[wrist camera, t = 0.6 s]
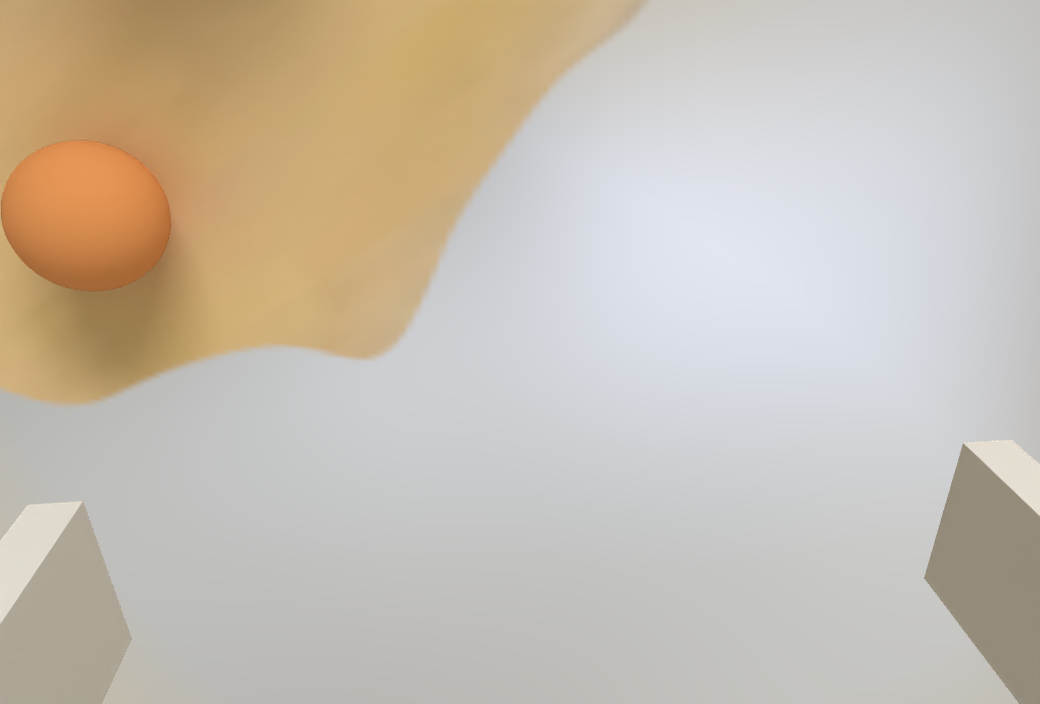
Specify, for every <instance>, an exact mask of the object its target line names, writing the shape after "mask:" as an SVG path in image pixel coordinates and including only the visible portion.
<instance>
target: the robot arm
mask: <svg viewBox="0 0 1040 704" xmlns="http://www.w3.org/2000/svg"><path fill="white" fill-rule="evenodd" d="M924 578H925V579H926V581H927V582H928V584H929V585H930V586H931V588H932V589H933V590H934V592H935V593H936V594H937V596H938V597H939V598H940V600H941V601H942V602H943V603H944V605H945V606H946V607H947V609H948V610H949V611H950V613H951V614H952V615H953V617H954V618H955V619H956V621H957V622H958V623H959V625H960V626H961V627H962V629H963V630H964V631H965V633H966V634H967V635H968V637H969V638H970V639H971V640H972V642H973V643H974V644H975V646H976V647H977V648H978V650H979V651H980V652H981V654H982V655H983V656H984V658H985V659H986V660H987V662H988V663H989V664H990V665H991V667H992V668H993V670H994V671H995V672H996V674H997V675H998V676H999V677H1000V679H1001V680H1002V681H1003V683H1004V684H1005V685H1006V687H1007V688H1008V689H1009V690H1010V692H1011V693H1012V695H1013V696H1014V697H1015V699H1016V700H1017V701H1018V703H1019V704H1040V464H1038V463H1037V462H1036V461H1035V460H1034V459H1033V458H1032V457H1030V456H1029V455H1028V454H1027V453H1026V452H1025V451H1024V450H1022V449H1021V448H1020V447H1019V446H1018V445H1017V444H1015V443H1014V442H1013V441H1012V440H999V441H984V442H969V443H963V445H962V449H961V453H960V456H959V459H958V463H957V466H956V470H955V473H954V477H953V480H952V484H951V487H950V491H949V494H948V497H947V501H946V504H945V508H944V511H943V515H942V518H941V522H940V525H939V529H938V532H937V536H936V539H935V543H934V546H933V550H932V553H931V556H930V560H929V563H928V567H927V570H926V574H925V577H924ZM131 640H132V638H131V635H130V632H129V630H128V627H127V624H126V621H125V618H124V616H123V613H122V610H121V607H120V605H119V601H118V599H117V596H116V593H115V590H114V587H113V585H112V582H111V579H110V576H109V573H108V570H107V568H106V565H105V562H104V559H103V556H102V554H101V551H100V548H99V545H98V542H97V539H96V537H95V534H94V531H93V528H92V525H91V522H90V520H89V517H88V514H87V511H86V508H85V505H84V503H83V501H79V502H63V503H48V504H33V505H27V507H26V508H25V509H24V511H23V512H22V513H21V514H20V516H19V517H18V518H17V520H16V521H15V522H14V524H13V525H12V526H11V527H10V529H9V530H8V531H7V533H6V534H5V535H4V537H3V538H2V539H1V541H0V704H102V702H103V699H104V697H105V695H106V693H107V691H108V689H109V687H110V684H111V682H112V680H113V678H114V676H115V674H116V672H117V670H118V667H119V665H120V663H121V661H122V659H123V657H124V655H125V652H126V650H127V648H128V646H129V644H130V642H131Z"/></svg>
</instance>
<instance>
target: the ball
mask: <svg viewBox="0 0 1040 704" xmlns="http://www.w3.org/2000/svg"><path fill="white" fill-rule="evenodd" d="M1 218H2V225H3V228H4V232H5V234H6V237H7V239H8V241H9V243H10V245H11V246H12V248H13V250H14V251H15V252H16V254H17V255H18V256H19V258H20V259H21V260H22V261H23V262H24V263H25V264H26V265H27V266H28V267H29V268H31V269H32V270H33V271H34V272H36V273H37V274H39V275H40V276H42V277H43V278H45V279H47V280H49V281H51V282H53V283H55V284H57V285H60V286H63V287H66V288H71V289H75V290H84V291H103V290H110V289H115V288H118V287H122V286H124V285H127V284H129V283H131V282H134V281H135V280H137V279H139V278H140V277H142V276H143V275H144V274H145V273H147V272H148V271H149V270H150V269H151V268H152V267H153V266H154V265H155V264H156V263H157V261H158V260H159V258H160V257H161V255H162V254H163V252H164V250H165V248H166V245H167V242H168V239H169V235H170V228H171V217H170V210H169V204H168V201H167V198H166V196H165V193H164V191H163V189H162V187H161V186H160V184H159V182H158V181H157V179H156V178H155V177H154V176H153V174H152V173H151V172H150V171H149V170H148V169H147V168H146V167H145V166H144V165H143V164H142V163H140V162H139V161H138V160H137V159H135V158H134V157H132V156H131V155H129V154H128V153H126V152H124V151H122V150H120V149H117V148H115V147H112V146H109V145H106V144H102V143H98V142H92V141H65V142H60V143H56V144H52V145H49V146H46V147H44V148H42V149H39V150H37V151H36V152H34V153H33V154H31V155H30V156H28V157H27V158H25V159H24V160H23V161H22V162H21V163H20V164H19V165H18V166H17V168H16V169H15V170H14V171H13V173H12V174H11V175H10V177H9V179H8V181H7V183H6V186H5V189H4V192H3V195H2V200H1Z"/></svg>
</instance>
